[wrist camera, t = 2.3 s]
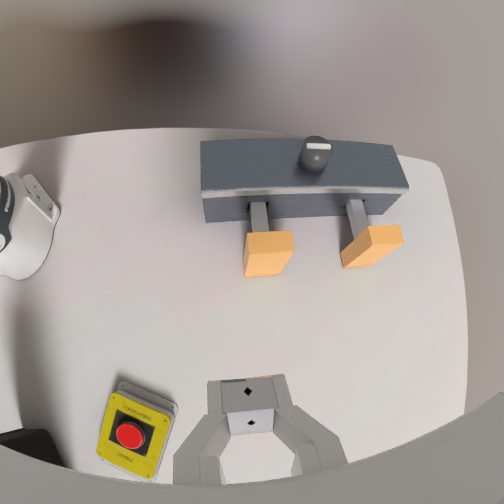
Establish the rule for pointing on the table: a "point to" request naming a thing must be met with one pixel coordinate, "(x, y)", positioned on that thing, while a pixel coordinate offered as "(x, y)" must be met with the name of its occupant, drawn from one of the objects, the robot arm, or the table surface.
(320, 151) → the dial
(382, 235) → the knob
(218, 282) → the table surface
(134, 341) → the table surface
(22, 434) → the black box
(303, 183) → the mount
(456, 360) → the table surface
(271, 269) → the knob
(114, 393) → the emergency button
